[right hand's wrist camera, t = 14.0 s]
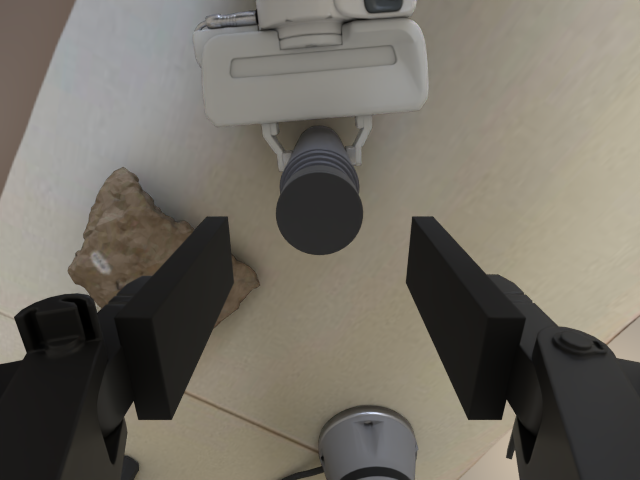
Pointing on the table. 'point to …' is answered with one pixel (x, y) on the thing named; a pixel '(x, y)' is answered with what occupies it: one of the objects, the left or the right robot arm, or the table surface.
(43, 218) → the table surface
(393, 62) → the left robot arm
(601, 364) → the right robot arm
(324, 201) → the cap
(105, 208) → the stone
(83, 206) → the table surface
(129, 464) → the robot
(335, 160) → the bottle
